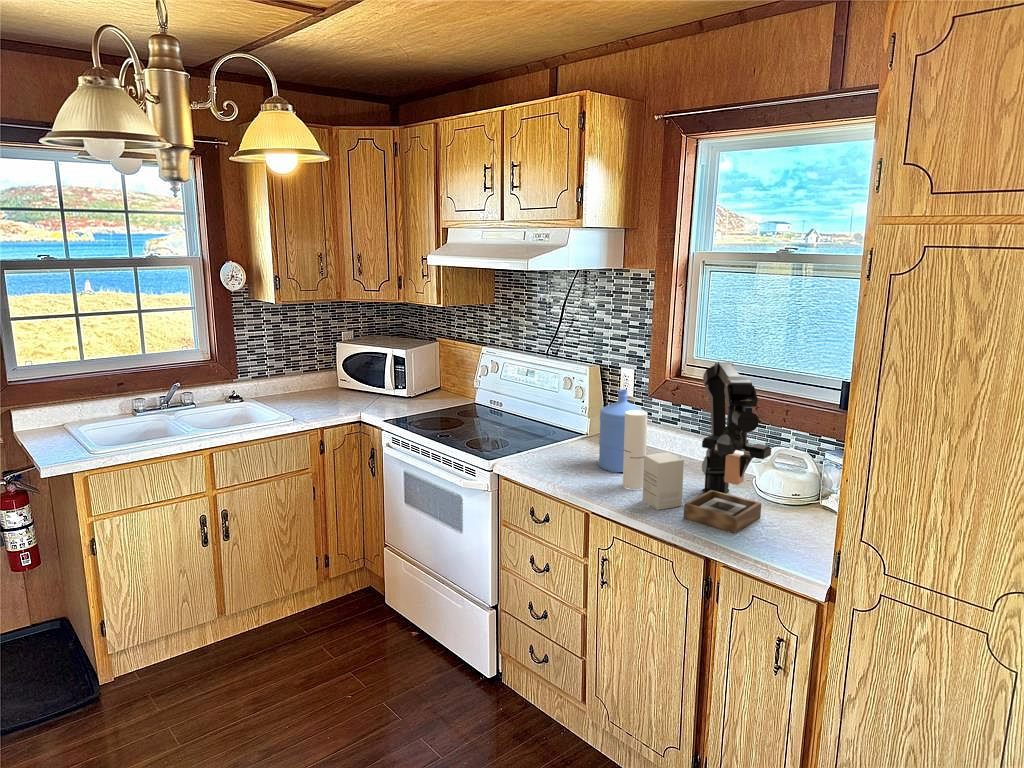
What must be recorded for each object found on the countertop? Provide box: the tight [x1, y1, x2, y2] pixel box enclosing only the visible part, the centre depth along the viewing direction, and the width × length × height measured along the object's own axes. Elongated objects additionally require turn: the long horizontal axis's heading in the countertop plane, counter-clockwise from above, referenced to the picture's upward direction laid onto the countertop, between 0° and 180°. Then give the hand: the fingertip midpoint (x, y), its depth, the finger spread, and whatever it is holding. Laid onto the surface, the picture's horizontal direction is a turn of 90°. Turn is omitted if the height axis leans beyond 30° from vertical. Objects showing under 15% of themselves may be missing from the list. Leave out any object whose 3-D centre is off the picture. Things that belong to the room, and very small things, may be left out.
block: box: [724, 452, 745, 486], centre depth 203 cm, size 4×4×8 cm
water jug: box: [598, 389, 644, 473], centre depth 247 cm, size 16×16×28 cm
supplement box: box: [642, 451, 685, 511], centre depth 213 cm, size 9×9×15 cm
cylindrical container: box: [622, 410, 648, 490], centre depth 227 cm, size 7×7×25 cm
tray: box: [683, 490, 762, 535], centre depth 202 cm, size 16×16×4 cm
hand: (734, 475), depth 203 cm, fingers closed on block, 4 cm apart
